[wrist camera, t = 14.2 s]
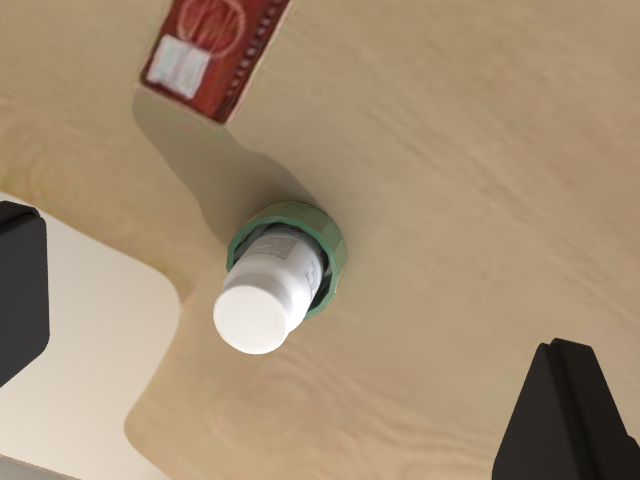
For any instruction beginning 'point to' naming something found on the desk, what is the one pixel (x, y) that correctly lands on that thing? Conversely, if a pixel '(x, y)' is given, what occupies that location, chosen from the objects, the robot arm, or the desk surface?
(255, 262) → the pill bottle
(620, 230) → the desk surface
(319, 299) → the green round container
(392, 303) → the desk surface
